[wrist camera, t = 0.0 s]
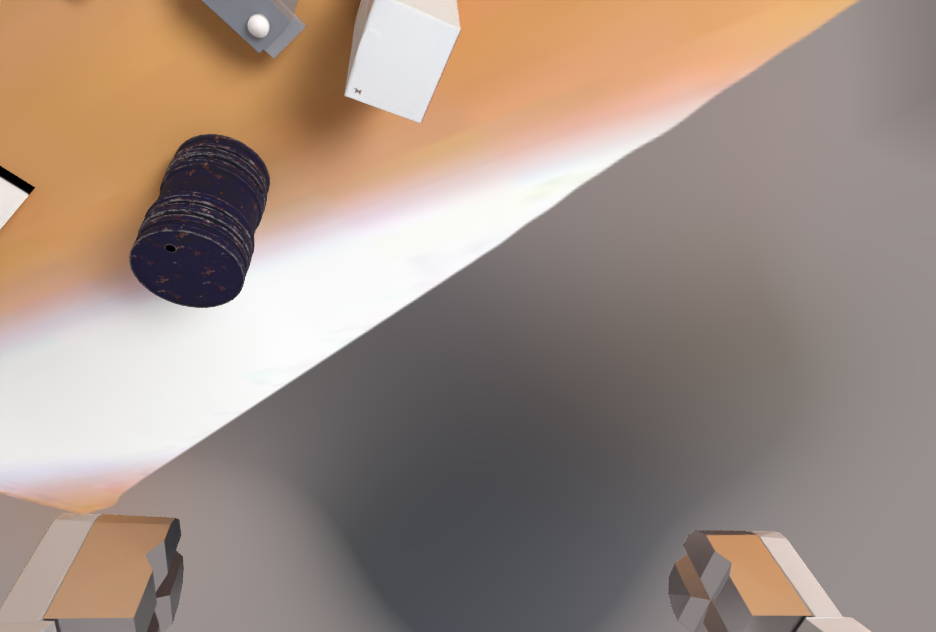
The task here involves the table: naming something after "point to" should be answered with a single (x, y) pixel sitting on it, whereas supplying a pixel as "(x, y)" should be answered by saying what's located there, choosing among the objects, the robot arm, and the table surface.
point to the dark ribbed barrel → (202, 223)
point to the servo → (260, 21)
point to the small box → (401, 53)
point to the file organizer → (11, 194)
